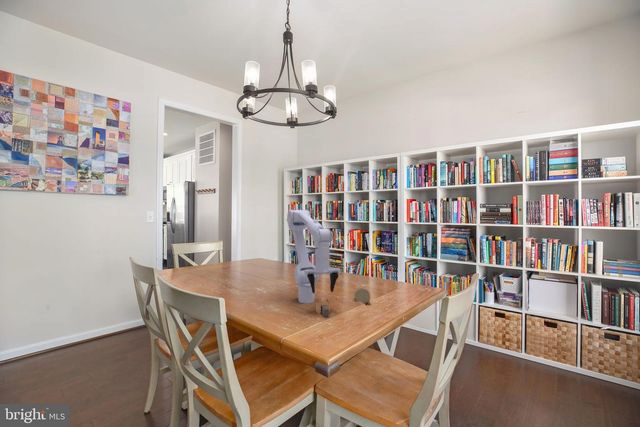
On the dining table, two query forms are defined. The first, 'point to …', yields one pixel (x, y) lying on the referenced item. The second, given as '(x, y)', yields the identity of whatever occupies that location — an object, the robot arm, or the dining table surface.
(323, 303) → the u-shaped block
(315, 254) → the robot arm
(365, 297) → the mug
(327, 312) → the stand
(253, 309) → the dining table surface
